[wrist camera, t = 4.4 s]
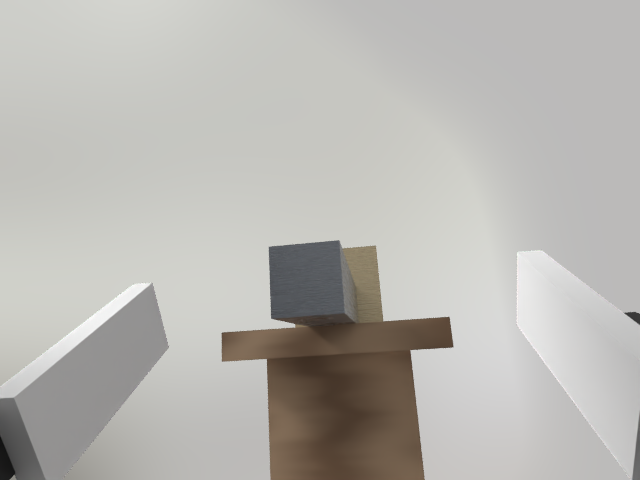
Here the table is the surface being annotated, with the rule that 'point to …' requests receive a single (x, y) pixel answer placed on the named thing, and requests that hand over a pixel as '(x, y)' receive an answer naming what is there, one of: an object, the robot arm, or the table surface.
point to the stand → (342, 396)
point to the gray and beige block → (324, 284)
